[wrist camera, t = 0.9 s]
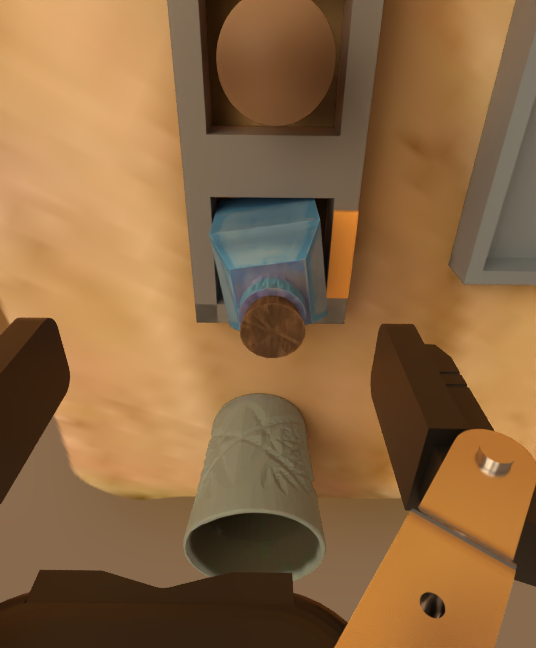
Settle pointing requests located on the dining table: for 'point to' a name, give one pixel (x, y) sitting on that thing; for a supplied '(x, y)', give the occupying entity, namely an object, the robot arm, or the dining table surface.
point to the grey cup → (256, 494)
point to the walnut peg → (275, 59)
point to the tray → (504, 171)
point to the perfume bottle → (270, 270)
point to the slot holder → (273, 152)
